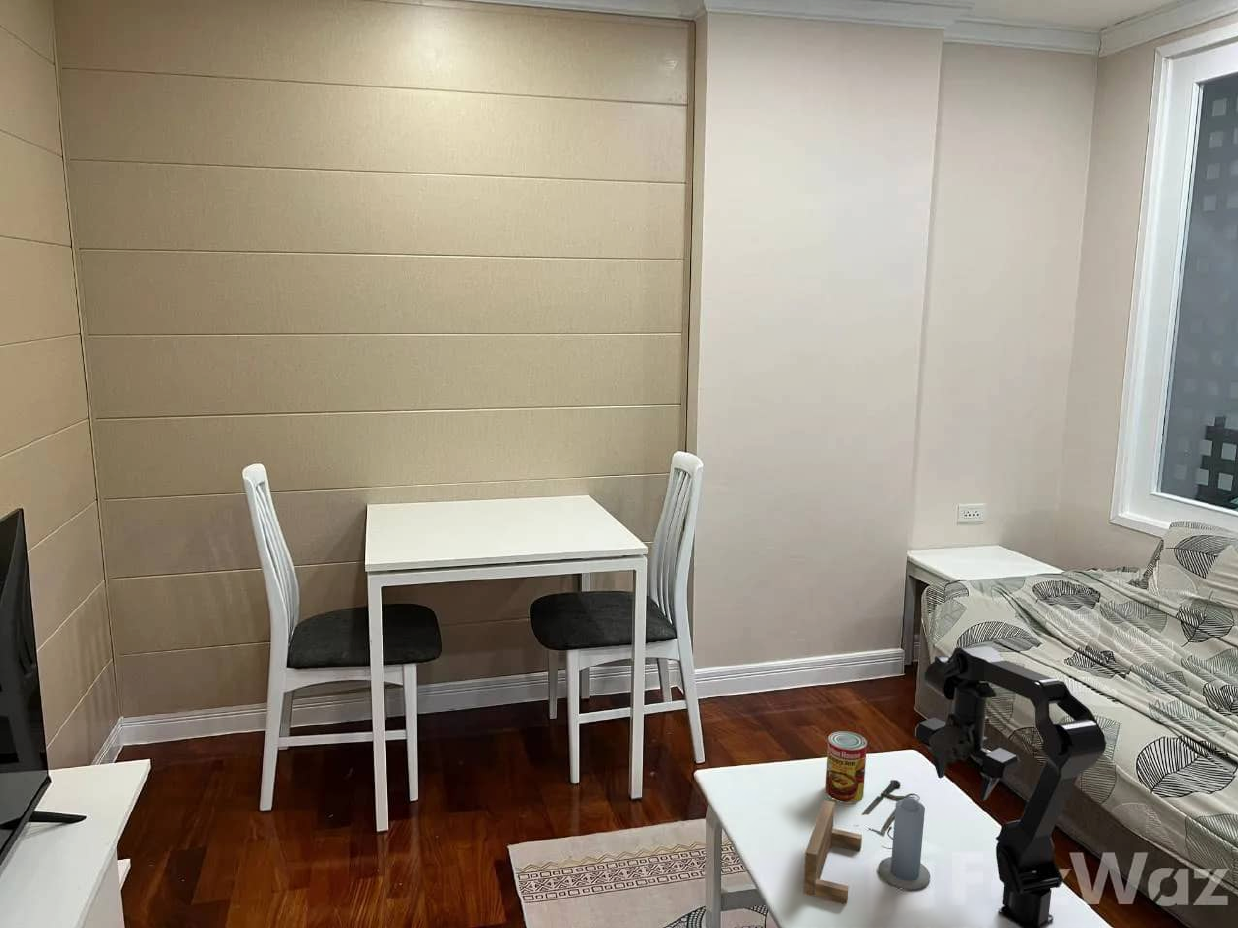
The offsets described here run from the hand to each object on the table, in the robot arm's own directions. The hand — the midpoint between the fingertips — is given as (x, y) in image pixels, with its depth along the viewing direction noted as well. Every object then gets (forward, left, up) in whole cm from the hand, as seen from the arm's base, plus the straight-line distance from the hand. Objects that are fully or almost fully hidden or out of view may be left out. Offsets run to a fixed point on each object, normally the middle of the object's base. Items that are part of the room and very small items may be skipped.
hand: (961, 788), depth 173 cm
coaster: (+1, +14, -13) cm, 19 cm away
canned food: (+26, +2, -13) cm, 29 cm away
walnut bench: (+9, +23, -13) cm, 28 cm away
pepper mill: (+1, +14, -12) cm, 19 cm away
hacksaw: (+15, 0, -14) cm, 20 cm away
